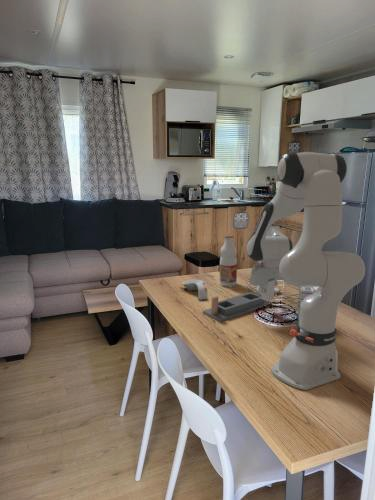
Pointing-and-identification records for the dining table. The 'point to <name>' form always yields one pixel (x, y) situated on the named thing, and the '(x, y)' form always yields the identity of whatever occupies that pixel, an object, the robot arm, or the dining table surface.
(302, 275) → the robot arm
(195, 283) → the handheld barcode scanner
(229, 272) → the fruit juice
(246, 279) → the dining table surface
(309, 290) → the syrup box
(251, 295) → the socket board
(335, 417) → the dining table surface
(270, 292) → the white cylinder
